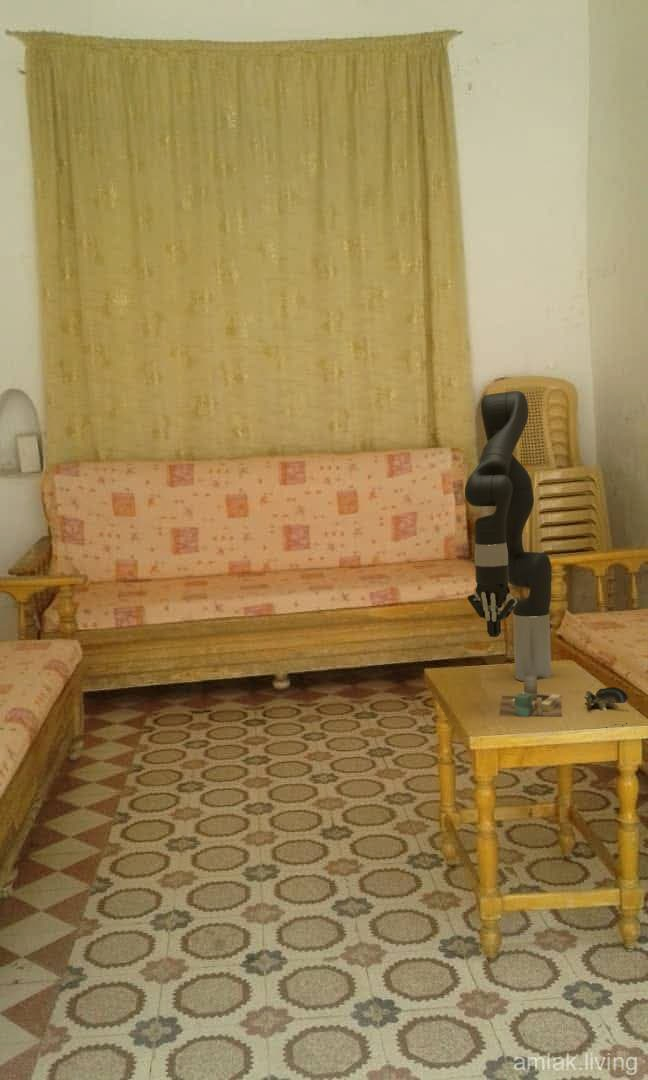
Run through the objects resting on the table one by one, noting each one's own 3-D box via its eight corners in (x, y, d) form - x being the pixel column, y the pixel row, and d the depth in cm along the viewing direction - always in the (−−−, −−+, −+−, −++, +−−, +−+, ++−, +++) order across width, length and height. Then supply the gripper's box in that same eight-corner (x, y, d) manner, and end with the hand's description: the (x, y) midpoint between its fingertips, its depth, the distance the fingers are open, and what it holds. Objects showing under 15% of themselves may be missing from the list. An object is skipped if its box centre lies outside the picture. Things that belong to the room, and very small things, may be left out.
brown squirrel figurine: (593, 715, 236) (632, 706, 236) (583, 686, 239) (621, 677, 239) (589, 725, 243) (627, 716, 243) (579, 696, 246) (617, 687, 246)
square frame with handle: (525, 698, 253) (524, 680, 252) (561, 702, 248) (561, 683, 247) (502, 713, 241) (502, 695, 240) (540, 718, 236) (539, 699, 236)
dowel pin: (537, 714, 239) (536, 697, 238) (542, 714, 239) (541, 697, 238) (536, 716, 238) (536, 698, 237) (542, 716, 237) (541, 699, 237)
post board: (502, 700, 256) (501, 667, 255) (561, 700, 253) (560, 667, 252) (499, 721, 240) (498, 686, 239) (562, 721, 237) (561, 686, 236)
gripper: (458, 563, 242) (461, 636, 244) (507, 566, 233) (510, 642, 236) (476, 558, 248) (479, 630, 250) (525, 561, 239) (527, 636, 241)
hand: (494, 636), depth 243 cm, fingers closed
